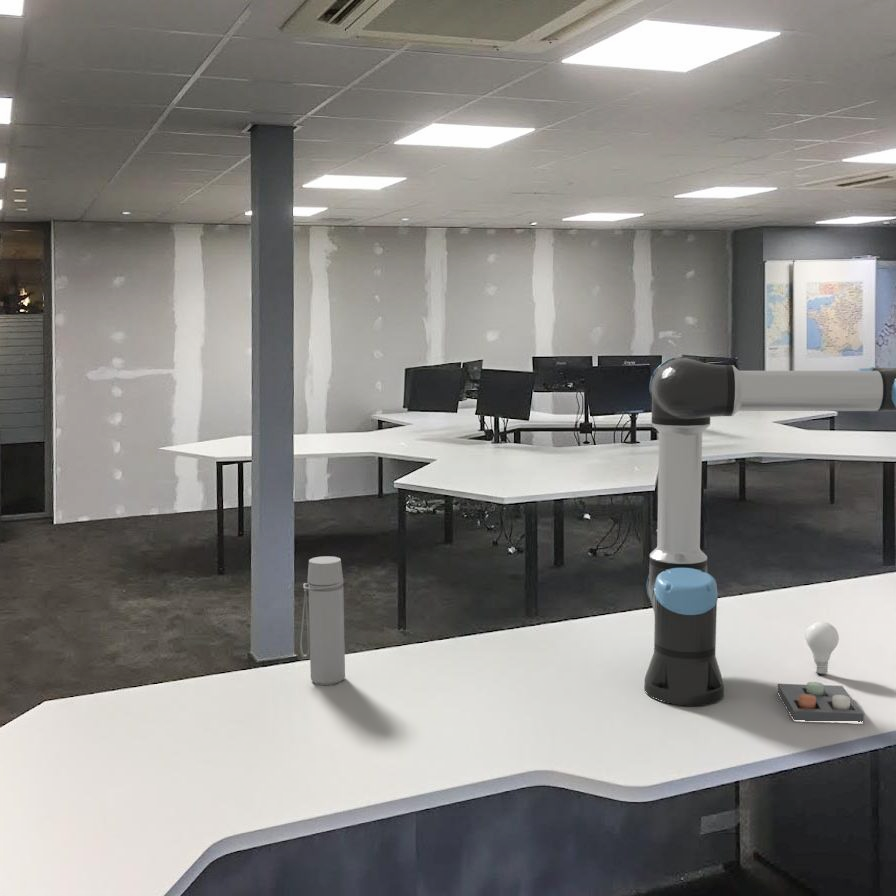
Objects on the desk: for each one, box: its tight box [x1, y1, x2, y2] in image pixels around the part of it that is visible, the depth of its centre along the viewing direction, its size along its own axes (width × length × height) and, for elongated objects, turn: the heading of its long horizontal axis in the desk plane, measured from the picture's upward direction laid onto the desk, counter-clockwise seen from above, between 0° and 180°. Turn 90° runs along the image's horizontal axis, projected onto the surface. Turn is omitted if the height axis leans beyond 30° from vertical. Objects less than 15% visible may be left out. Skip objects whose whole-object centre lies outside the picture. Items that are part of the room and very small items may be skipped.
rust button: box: [798, 694, 816, 709], centre depth 182 cm, size 3×3×2 cm
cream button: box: [832, 695, 850, 710], centre depth 181 cm, size 3×3×2 cm
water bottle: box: [299, 555, 346, 686], centre depth 201 cm, size 9×8×25 cm
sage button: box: [806, 681, 825, 696], centre depth 188 cm, size 3×3×2 cm
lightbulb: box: [805, 620, 840, 675], centre depth 203 cm, size 6×6×11 cm
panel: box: [777, 683, 865, 722], centre depth 185 cm, size 12×14×2 cm
